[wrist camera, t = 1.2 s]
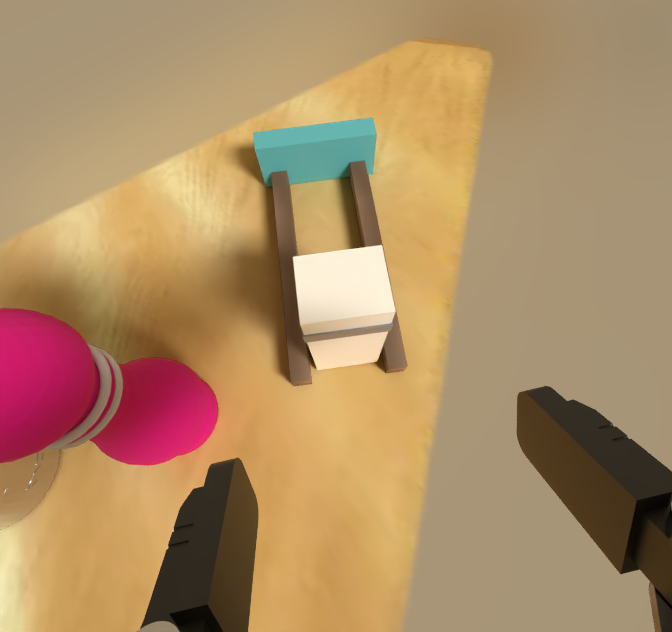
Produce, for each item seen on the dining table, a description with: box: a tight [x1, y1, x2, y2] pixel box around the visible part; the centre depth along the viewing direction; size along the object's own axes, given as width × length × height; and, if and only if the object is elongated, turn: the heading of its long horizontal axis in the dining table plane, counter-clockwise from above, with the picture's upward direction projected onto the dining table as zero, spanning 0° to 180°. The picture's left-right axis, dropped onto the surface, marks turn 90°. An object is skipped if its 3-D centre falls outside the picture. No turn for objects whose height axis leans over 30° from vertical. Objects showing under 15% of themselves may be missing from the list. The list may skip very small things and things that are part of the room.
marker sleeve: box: [293, 245, 396, 370], centre depth 25 cm, size 5×4×12 cm
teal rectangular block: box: [253, 118, 377, 187], centre depth 35 cm, size 11×2×5 cm, turn 98°
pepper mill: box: [0, 308, 218, 465], centre depth 20 cm, size 7×7×20 cm
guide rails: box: [271, 160, 407, 386], centre depth 33 cm, size 9×22×2 cm, turn 8°
